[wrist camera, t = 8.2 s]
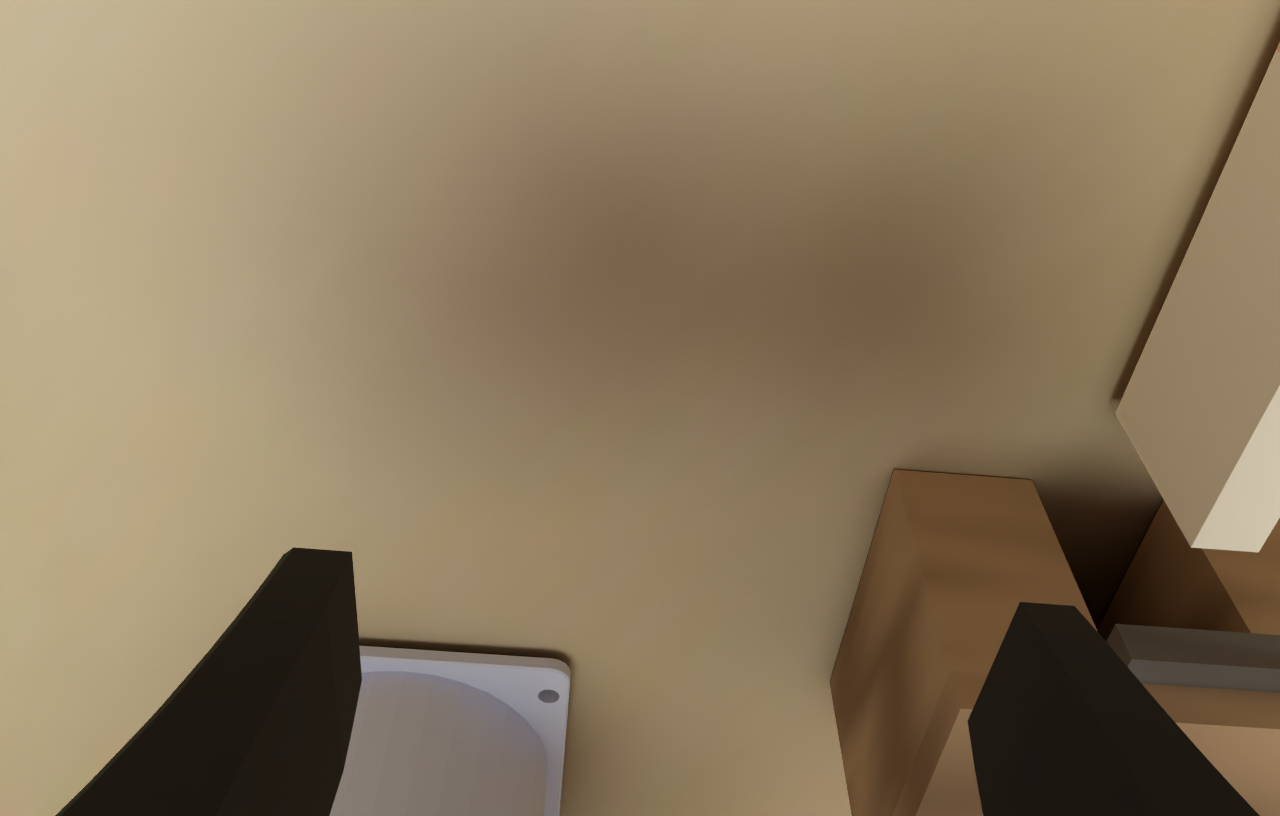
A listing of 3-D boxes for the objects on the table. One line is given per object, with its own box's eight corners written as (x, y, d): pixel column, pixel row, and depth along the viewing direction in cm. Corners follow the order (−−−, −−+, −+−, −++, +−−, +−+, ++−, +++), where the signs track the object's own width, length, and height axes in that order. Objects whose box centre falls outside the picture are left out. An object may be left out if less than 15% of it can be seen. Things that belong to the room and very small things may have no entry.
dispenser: (1177, 705, 28) (1293, 947, 23) (829, 682, 27) (869, 923, 22) (1316, 479, 23) (1497, 720, 18) (900, 447, 23) (970, 685, 18)
